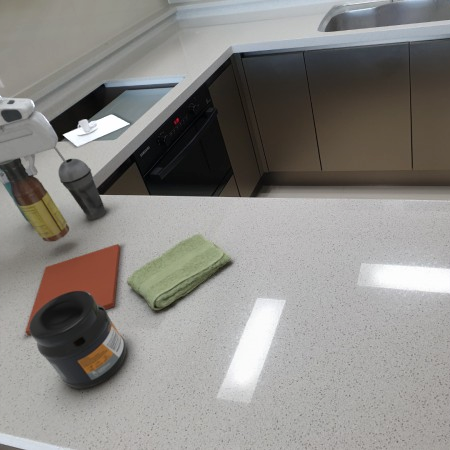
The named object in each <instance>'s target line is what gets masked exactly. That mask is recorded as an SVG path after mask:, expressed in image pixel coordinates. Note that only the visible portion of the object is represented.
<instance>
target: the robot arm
mask: <svg viewBox="0 0 450 450" xmlns="http://www.w3.org/2000/svg"><path fill="white" fill-rule="evenodd" d="M35 108H36V106H35V103H34V101H33V99H31V98H26V97H25V98H24V97H23V98H22V97H21V98H20V97H2V96H1V95H0V163H3V162H7V161H10V160H14V159H18V158H20V159H22V158H23V159H24V161H25V162H28V165H27V166H26V167H25V171H26V173H28V176H29V177H31V176H34V177H35V176H37V175H38V174H39V172H38V169H37V167H36V166H35V161H36V154H39V153H43V152H46V151H50V150H55V149H54V148H55V146H56V147H57V144H58V141H59V137H58V135H57V133H56V131H55V130H54V128H53V126H52V124H51V123H50V122H49V120H48V119H47V118H46V116H44V114H43V113H42V112H40V111H37V110H35ZM0 180H1V181H0V183H1V184H2V183H3V184H6V183H9V182H10V181H9V180H8V177H7V176H6V174H5V173H4V172H2V171H1V170H0ZM3 184H2V185H3Z"/></svg>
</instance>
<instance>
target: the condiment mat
mask: <svg viewBox="0 0 450 450" xmlns="http://www.w3.org/2000/svg"><path fill="white" fill-rule="evenodd" d="M120 253H121V246H120V244H119V243H116V244H113V245H111V246H107V247H104V248H101V249H97V250H95V251H92V252H89V253H85V254H82V255H78V256H76V257H73V258H69V259H67V260H63V261H59V262H56V263H54V264H51V265H48V266H45V268H44V271H43V274H42V277H41V281H40V284H39V288H38V291H37V294H36V297H35V299H34V304H33V307H32V310H31V313H30V316H29V319H28V322H27V325H26V327H25V328H26V329H25V333H26V335H27V336H30V335H31V334H30V332H29V325H30V322H31V320H32V318H33V316H34V315H35V314H36V312H37V311H38V310H39V309H40V308H41V307H42V306H44V305H45V304H46V303H48V302H49V301H51V300H52V299H54V298H56V297H58V296H60V295H62V294H65V293H68V292H72V291H86V292H88V293H90V294H91V295H92V296H93V298H94V299H95V301H96V302H97V304H99V305H101V306H102V307H104V308H105V310H108V309H111V308H114V307H115V303H116V294H117V286H118V285H117V283H118V274H119V263H120Z"/></svg>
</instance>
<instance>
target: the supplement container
mask: <svg viewBox="0 0 450 450" xmlns="http://www.w3.org/2000/svg"><path fill="white" fill-rule="evenodd" d="M29 332H30V335H31V337H32V339H33V340H35V342H36V346H37V347H36V348H37V351H38V352H39V353H40V355H41V356H42V357H44V358H45V359H46V360H47V362H48V363H49V364H50V365H51V367H52V368H53V369H54V371H55V372H56V373H57V374H58V375H59V377H60V378H61V380H62V381H63V382H64V384H66V385H68V386H69V387H71V388H75V389H86V388H91V387H93V386H96V385H99V384H101V383H103V382H104V381H105V380H107V379H108V378H110V377H111V376H112V375H114V373H116V371H117V370H118V369H119V368H120V367H121V365H122V364H123V361H124V360H125V357H126V355H127V344H126V341H125V339H124V338H123V336H122V335H121V333H120V332H119V330H118V329H117V327H116V326H115V324H114V323H113V321H112V319H111V317H110V316H109V314H108V312H107V309H105V308H104V307H102V306H101V305H99V304H97V302H96V301H95V299H94V298H93V296H92V295H91V294H90V293H88V292H86V291H72V292H68V293H65V294H62V295H60V296H58V297H56V298H54V299H52V300H51V301H49V302H48V303H46V304H45V305H44V306H42V307H41V308H40V309H39V310H38V311H37V312H36V314H35V315H34V316H33V318H32V320H31V322H30V325H29Z"/></svg>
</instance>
